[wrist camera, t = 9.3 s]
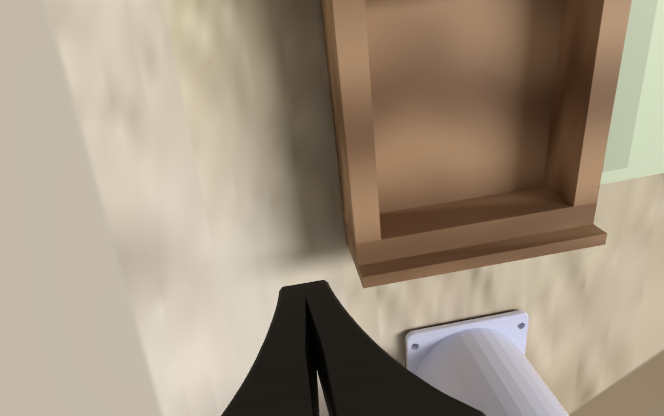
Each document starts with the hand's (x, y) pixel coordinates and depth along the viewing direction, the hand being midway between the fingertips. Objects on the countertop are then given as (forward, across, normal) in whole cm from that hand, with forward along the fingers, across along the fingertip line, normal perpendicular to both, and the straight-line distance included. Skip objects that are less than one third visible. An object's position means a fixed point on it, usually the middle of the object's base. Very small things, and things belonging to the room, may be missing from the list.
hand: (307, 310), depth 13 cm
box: (+10, -9, -3) cm, 14 cm away
